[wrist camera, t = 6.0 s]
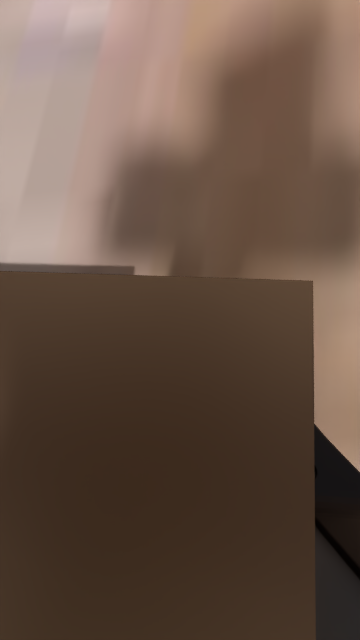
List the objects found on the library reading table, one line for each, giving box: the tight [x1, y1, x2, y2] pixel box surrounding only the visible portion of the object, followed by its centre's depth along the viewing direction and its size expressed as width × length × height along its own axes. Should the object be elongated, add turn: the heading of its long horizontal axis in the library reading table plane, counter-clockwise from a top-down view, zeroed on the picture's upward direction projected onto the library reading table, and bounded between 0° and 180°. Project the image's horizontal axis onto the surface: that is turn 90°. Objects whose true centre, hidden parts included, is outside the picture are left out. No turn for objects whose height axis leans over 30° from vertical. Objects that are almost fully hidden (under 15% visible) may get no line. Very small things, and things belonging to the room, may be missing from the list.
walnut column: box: [0, 271, 316, 640], centre depth 10 cm, size 4×4×13 cm
